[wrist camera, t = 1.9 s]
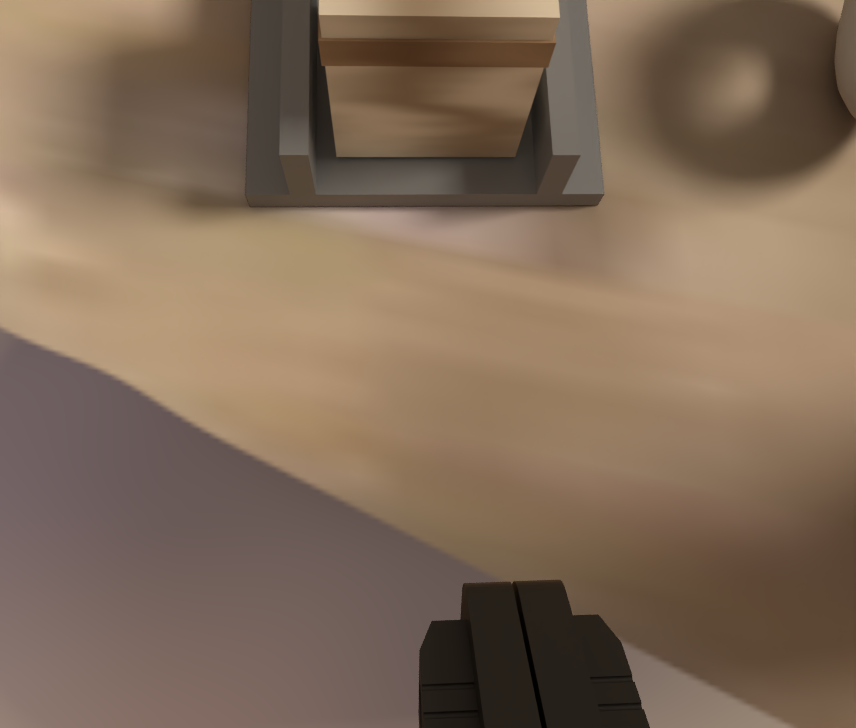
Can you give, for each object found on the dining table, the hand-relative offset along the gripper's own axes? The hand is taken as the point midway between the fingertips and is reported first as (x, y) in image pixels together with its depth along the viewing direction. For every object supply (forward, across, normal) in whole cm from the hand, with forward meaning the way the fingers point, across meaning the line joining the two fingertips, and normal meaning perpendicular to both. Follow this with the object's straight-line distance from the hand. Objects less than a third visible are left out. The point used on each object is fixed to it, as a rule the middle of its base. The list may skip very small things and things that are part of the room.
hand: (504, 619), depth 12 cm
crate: (+24, 0, -4) cm, 24 cm away
